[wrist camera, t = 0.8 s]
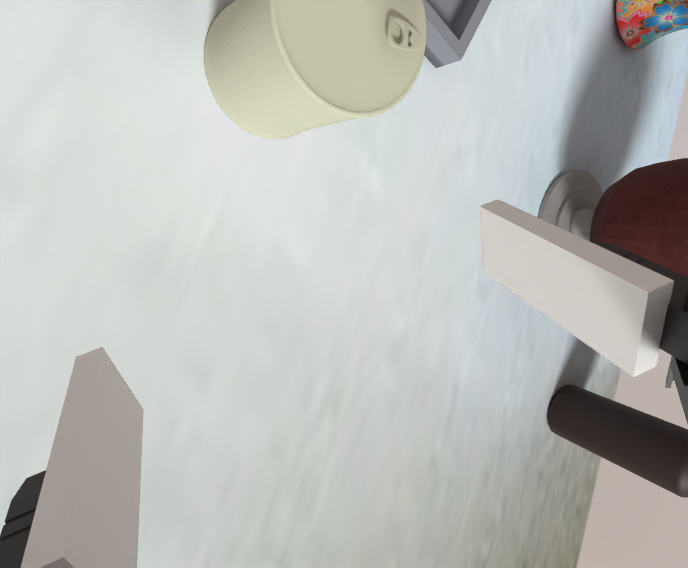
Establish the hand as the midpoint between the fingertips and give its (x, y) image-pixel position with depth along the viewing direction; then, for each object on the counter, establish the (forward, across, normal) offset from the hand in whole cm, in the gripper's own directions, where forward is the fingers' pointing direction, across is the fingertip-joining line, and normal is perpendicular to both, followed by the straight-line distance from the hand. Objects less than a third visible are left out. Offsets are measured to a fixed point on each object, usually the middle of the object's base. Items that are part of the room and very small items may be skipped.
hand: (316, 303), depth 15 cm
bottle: (+20, +30, -43) cm, 56 cm away
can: (+23, +5, +5) cm, 24 cm away
